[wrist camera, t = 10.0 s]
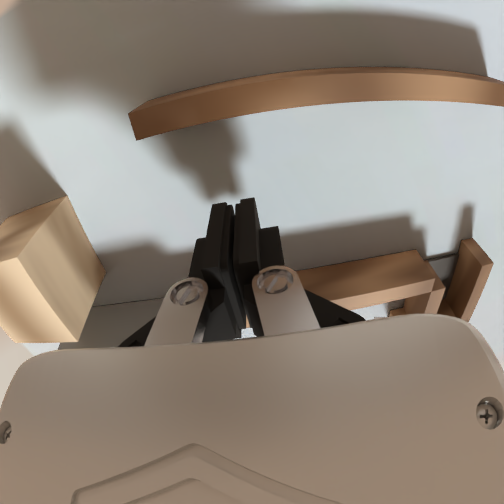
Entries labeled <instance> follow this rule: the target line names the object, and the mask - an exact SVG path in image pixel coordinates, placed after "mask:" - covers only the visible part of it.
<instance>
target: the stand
mask: <svg viewBox="0 0 504 504" xmlns="http://www.w3.org/2000/svg"><path fill="white" fill-rule="evenodd" d="M163 300H164V298H161V299H153V300H145V301H138V302H129V303H121V304H113V305H104V306H96V307H91V309H90V312H89V314H88V317H87V319H86V322H85V324H84V327H83V330H82V332H81V335H80V338H79V341H78V342H60V345H59V348H58V350H62V349H83V348H110V347H118V346H119V345H120V344H121V343H122V342H123V341H124V340H125V339H127V338H128V337H129V336H131V335H132V334H133V333H135V332H136V331H137V330H139V329H140V328H141V327H142V326H144V325H145V324H146V323H148V322H149V321H150V320H152V319H153V318H154V317H156V316H157V314H158V312H159V309H160V307H161V305H162V302H163Z"/></svg>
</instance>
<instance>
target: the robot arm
mask: <svg viewBox="0 0 504 504" xmlns="http://www.w3.org/2000/svg"><path fill="white" fill-rule="evenodd" d="M246 315H247V319H248V322H249V326H250V328H253V332H254V335H256V336H257V337H251V338H242V339H235V338H241V329H246ZM0 504H504V371H503V369H502V367H501V365H500V363H499V361H498V359H497V357H496V356H495V354H494V352H493V350H492V349H491V347H490V346H489V344H488V343H487V341H486V340H485V338H484V337H483V336H482V334H481V333H480V332H479V331H478V330H477V329H476V328H475V327H474V326H473V325H471V324H470V323H468V322H466V321H464V320H462V319H460V318H456V317H452V316H448V315H440V314H407V315H397V316H391V317H374V319H373V320H367V321H366V320H365V319H364V318H363V317H361V316H360V315H358V314H356V313H354V312H352V311H350V310H348V309H346V308H344V307H342V306H339V305H337V304H335V303H333V302H331V301H329V300H327V299H325V298H323V297H320V296H318V295H316V294H314V293H312V292H310V291H308V290H306V289H304V288H303V286H302V284H301V281H300V279H299V277H298V275H297V273H296V272H295V271H294V270H293V269H291V268H289V267H286V266H284V260H283V253H282V247H281V241H280V235H279V228H278V226H275V227H269V228H262V229H260V224H259V218H258V213H257V208H256V203H255V198H248V199H241V200H240V203H239V204H236V208H235V214H234V210H233V206H232V205H227V203H226V202H224V203H218V204H212V208H211V213H210V219H209V224H208V229H207V235H206V238H199V239H197V240H196V244H195V249H194V253H193V258H192V263H191V267H190V272H189V277H188V278H186V279H183V280H180V281H178V282H177V283H175V284H174V285H172V286H171V287H170V288H169V290H168V292H167V293H166V295H165V298H164V300H163V302H162V305H161V307H160V309H159V312H158V314H157V316H156V317H154V318H153V319H152V320H150V321H149V322H148V323H146V324H145V325H144V326H142V327H141V328H140V329H139V330H137V331H136V332H135V333H133V334H132V335H131V336H129V337H128V338H127V339H125V340H124V341H123V342H122V343H121V344H120V345H119V346H118V347H110V348H83V349H62V350H54V351H50V352H46V353H42V354H39V355H37V356H34V357H32V358H30V359H28V360H27V361H25V362H24V363H23V364H22V365H21V366H20V367H19V368H18V370H17V371H16V373H15V375H14V377H13V379H12V381H11V383H10V385H9V387H8V389H7V392H6V394H5V397H4V400H3V402H2V405H1V408H0Z"/></svg>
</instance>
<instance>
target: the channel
mask: <svg viewBox="0 0 504 504" xmlns="http://www.w3.org/2000/svg"><path fill="white" fill-rule="evenodd" d="M392 100H420V101H449V102H464V103H476V104H486V105H495V106H503V107H504V82H503V81H500V80H497V79H494V78H490V77H486V76H481V75H474V74H468V73H461V72H453V71H444V70H434V69H421V68H404V67H342V68H324V69H311V70H300V71H291V72H282V73H274V74H267V75H260V76H254V77H248V78H242V79H236V80H231V81H226V82H221V83H216V84H211V85H207V86H202V87H198V88H194V89H190V90H186V91H182V92H178V93H174V94H170V95H167V96H163V97H160V98H156V99H153V100H150V101H147V102H145V103H144V104H142V105H141V106H139V107H138V108H136V109H135V110H133V111H132V112H130V113H128V115H129V118H130V122H131V125H132V128H133V131H134V135H135V138H136V141H137V140H140V139H144V138H147V137H151V136H154V135H158V134H162V133H165V132H169V131H173V130H177V129H181V128H185V127H189V126H194V125H198V124H202V123H207V122H212V121H216V120H221V119H226V118H231V117H237V116H242V115H248V114H253V113H260V112H266V111H272V110H279V109H287V108H294V107H303V106H312V105H322V104H333V103H346V102H362V101H392ZM492 266H493V262H492V260H491V259H490V258H489V257H488V255H487V254H486V253H485V252H484V251H483V249H482V248H481V247H480V246H479V245H478V244H477V242H476V241H475V240H474V239H473V238H470V239H465V240H461V244H460V248H459V251H458V253H456V254H451V255H447V256H443V257H438V258H433V259H429V260H423V259H422V257H421V256H420V254H419V253H418V252H417V250H411V251H405V252H400V253H395V254H390V255H384V256H379V257H374V258H368V259H363V260H357V261H352V262H346V263H341V264H335V265H329V266H323V267H318V268H312V269H306V270H300V271H295V272H296V273H297V275H298V277H299V279H300V281H301V284H302V286H303V288H304V289H306V290H308V291H310V292H312V293H314V294H316V295H318V296H320V297H323V298H325V299H327V300H329V301H331V302H333V303H335V304H337V305H339V306H342V307H344V308H346V309H348V310H354V309H359V308H364V307H368V306H373V305H378V304H382V303H387V302H391V301H395V300H400V299H404V298H405V302H404V306H403V308H399V309H395V310H391V311H390V314H389V317H391V316H397V315H407V314H440V315H448V316H452V317H456V318H460V319H462V320H464V321H466V322H469V320H470V318H471V316H472V314H473V311H474V309H475V307H476V305H477V303H478V300H479V298H480V296H481V293H482V291H483V289H484V286H485V284H486V281H487V279H488V276H489V274H490V271H491V269H492ZM249 327H250V326H249V322H248V319H247V315H246V328H249Z"/></svg>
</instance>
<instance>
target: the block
mask: <svg viewBox="0 0 504 504" xmlns="http://www.w3.org/2000/svg"><path fill="white" fill-rule="evenodd" d="M105 274H106V271H105V269H104V268H103V266H102V264H101V262H100V260H99V258H98V257H97V255H96V253H95V251H94V249H93V247H92V245H91V243H90V241H89V239H88V237H87V236H86V234H85V232H84V230H83V228H82V225H81V223H80V221H79V219H78V217H77V215H76V213H75V211H74V209H73V207H72V204H71V202H70V200H69V198H68V196H64V197H61V198H59V199H56V200H53V201H50V202H47V203H45V204H42V205H39V206H36V207H34V208H31V209H28V210H26V211H23V212H21V213H18V214H16V215H13V216H11V217H8V218H7V219H6V220H5V221H4V222H3V223H2V224H1V225H0V326H1V327H2V329H3V330H4V331H5V332H6V333H7V334H8V336H9V337H10V338H11V339H12V340H13V341H14V342H15V343H57V342H78V341H79V338H80V335H81V332H82V330H83V327H84V324H85V322H86V319H87V317H88V314H89V312H90V309H91V307H92V304H93V302H94V299H95V297H96V295H97V292H98V290H99V287H100V285H101V283H102V281H103V278H104V276H105Z"/></svg>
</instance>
